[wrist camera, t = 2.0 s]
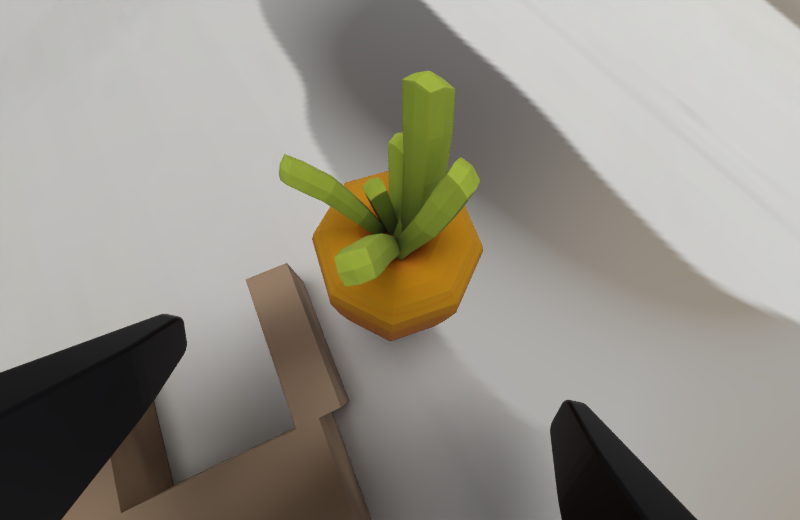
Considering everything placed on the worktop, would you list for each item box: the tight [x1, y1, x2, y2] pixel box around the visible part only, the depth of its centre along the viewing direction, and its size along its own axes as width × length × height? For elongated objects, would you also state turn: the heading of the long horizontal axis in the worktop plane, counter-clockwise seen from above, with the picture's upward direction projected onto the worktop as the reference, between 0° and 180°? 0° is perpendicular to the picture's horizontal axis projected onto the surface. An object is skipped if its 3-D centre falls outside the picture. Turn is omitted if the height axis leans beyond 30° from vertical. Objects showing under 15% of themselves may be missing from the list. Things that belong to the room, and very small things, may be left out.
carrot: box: [279, 71, 483, 341], centre depth 13 cm, size 5×5×15 cm
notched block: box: [62, 263, 371, 520], centre depth 16 cm, size 14×11×4 cm
